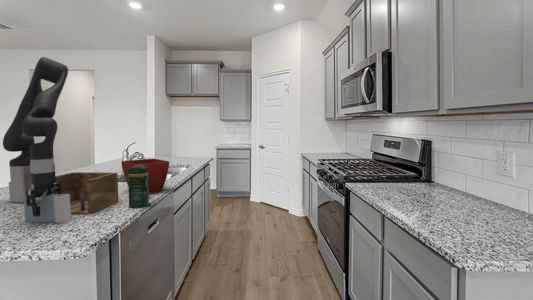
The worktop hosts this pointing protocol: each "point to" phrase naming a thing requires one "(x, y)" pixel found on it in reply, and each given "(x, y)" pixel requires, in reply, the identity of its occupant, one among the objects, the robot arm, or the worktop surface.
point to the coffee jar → (138, 186)
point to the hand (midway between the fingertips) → (45, 212)
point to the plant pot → (150, 172)
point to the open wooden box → (89, 190)
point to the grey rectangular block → (50, 209)
